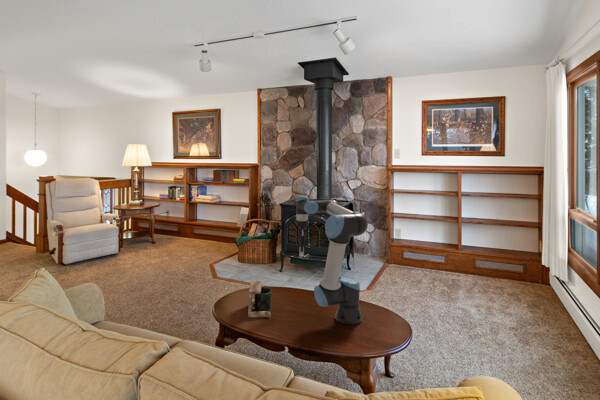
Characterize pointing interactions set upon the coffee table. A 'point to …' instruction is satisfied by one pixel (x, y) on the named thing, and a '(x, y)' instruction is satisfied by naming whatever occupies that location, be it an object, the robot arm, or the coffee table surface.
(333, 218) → the robot arm
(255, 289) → the wooden u-frame
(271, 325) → the coffee table surface
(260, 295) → the mug
